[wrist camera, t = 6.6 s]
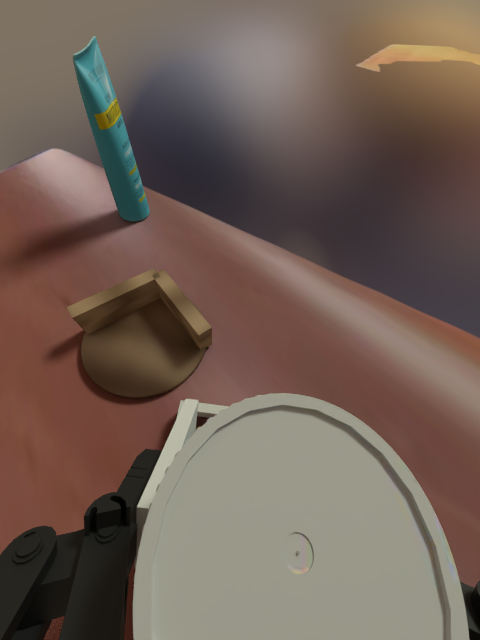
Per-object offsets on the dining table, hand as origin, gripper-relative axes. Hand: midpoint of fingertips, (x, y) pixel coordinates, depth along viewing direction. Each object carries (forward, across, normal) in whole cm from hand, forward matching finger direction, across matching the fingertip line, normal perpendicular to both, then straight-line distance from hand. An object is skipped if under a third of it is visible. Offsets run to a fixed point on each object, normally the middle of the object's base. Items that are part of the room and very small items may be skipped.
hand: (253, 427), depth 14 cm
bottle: (+2, 0, -6) cm, 7 cm away
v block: (+15, -12, -1) cm, 19 cm away
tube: (+31, -22, +16) cm, 41 cm away
